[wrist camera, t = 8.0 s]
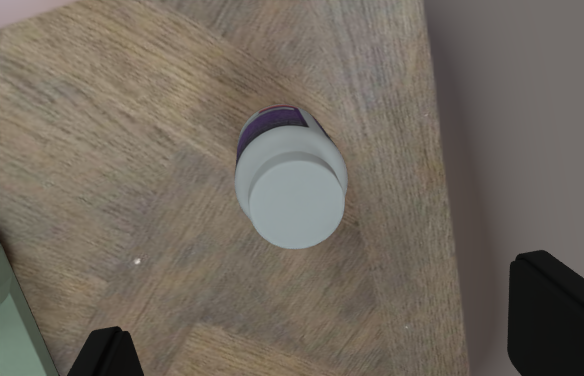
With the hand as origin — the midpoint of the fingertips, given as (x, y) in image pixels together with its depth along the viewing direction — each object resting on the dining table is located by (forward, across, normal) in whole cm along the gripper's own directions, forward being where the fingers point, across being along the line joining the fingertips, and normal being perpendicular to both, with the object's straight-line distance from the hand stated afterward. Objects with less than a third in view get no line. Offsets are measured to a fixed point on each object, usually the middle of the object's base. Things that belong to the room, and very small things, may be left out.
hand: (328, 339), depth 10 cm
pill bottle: (+18, 0, 0) cm, 18 cm away
